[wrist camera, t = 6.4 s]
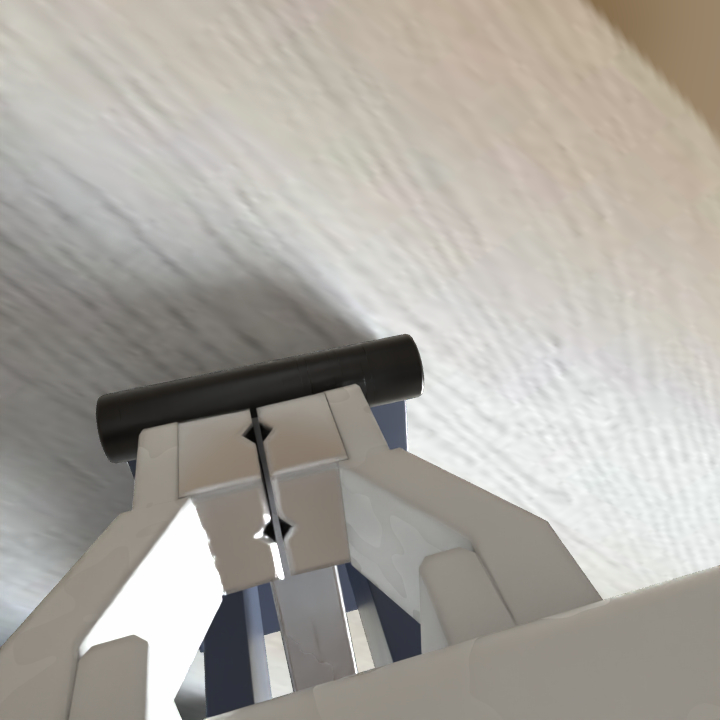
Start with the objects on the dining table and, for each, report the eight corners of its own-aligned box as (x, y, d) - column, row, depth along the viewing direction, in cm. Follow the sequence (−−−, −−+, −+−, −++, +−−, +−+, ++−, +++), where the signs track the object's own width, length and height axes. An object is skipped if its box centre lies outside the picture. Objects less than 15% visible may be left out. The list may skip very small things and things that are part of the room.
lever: (114, 384, 10) (77, 410, 8) (391, 329, 11) (431, 338, 9) (253, 959, 12) (256, 1119, 10) (485, 874, 13) (539, 1003, 11)
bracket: (120, 408, 17) (19, 1107, 6) (393, 352, 18) (688, 850, 8) (199, 624, 22) (217, 1197, 12) (405, 568, 24) (590, 1037, 13)
